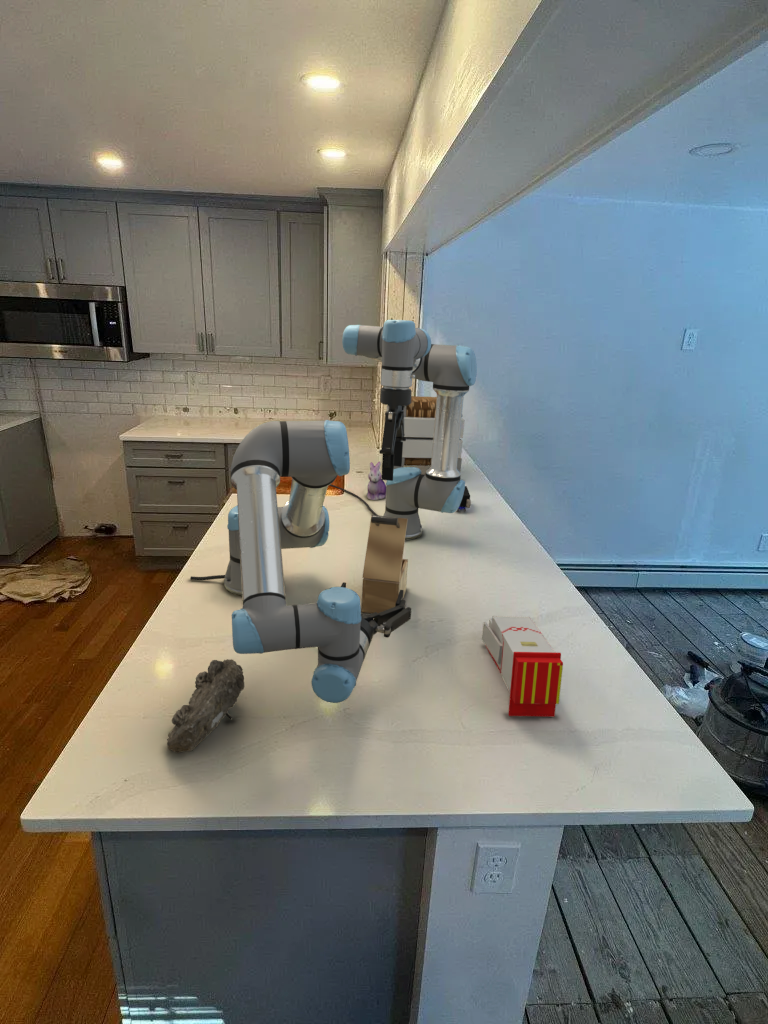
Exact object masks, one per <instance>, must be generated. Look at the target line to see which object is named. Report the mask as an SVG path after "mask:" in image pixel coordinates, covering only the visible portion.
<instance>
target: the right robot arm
mask: <svg viewBox="0 0 768 1024" xmlns="http://www.w3.org/2000/svg"><path fill="white" fill-rule="evenodd" d="M341 339H342V340H341V343H342V347H343V348H342V349H343V351H344V352H345V353H346V354H347V355H352V356H355V357H357V356H360V357H366V358H368V359H371V360H374V361H377V362H378V363H379V362H380V363H381V369H380V386H381V388H380V395H379V397H380V398H379V401H380V404H381V405H385V406H387V405H388V406H389V409H388V411H387V410H386V411H385V412H384V426H383V434H382V442H381V449H379V450H378V451H379V454H380V455H382V459H381V475H382V477H381V479H382V480H383V481H386V482H385V484H386V496H385V504H384V505H385V507H384V508H385V509H384V513H383V515H382V516H389V517H398V518H405V519H408V520H407V528H406V536H405V541H410V540H415V539H418V538H420V537H421V536H422V535H423V525H422V524H421V518H420V515H419V509H420V510H421V509H422V510H427V511H433V512H438V513H442V514H443V513H446V514H454V513H456V512H457V509H458V507H459V505H460V503H461V501H462V498H463V494H464V490H465V486H466V481H465V480H463V479H461V475H462V474H461V473H460V472H459V471H458V470H457V459H458V449H459V439H461V438H460V429H461V418H462V419H463V408H464V398H465V397H464V396H465V395H467V393H469V392H470V387H471V386H474V385H475V384H476V380H477V375H478V374H477V373H478V367H477V366H478V365H477V364H478V363H477V357H476V353H475V351H474V350H473V348H472V347H470V346H464V345H459V344H458V345H455V344H454V345H452V344H438V343H437V344H436V343H435V344H434V343H432V338H431V336H430V334H429V332H428V331H426V329H423V328H420V327H416V323H415V321H413V320H409V319H408V320H407V319H406V320H405V319H387V320H384V323H383V326H378V325H377V326H376V325H363V324H349V325H347V326H346V327H345V328H344V330H343V333H342V338H341ZM413 379H414V380H417V381H420V382H429V383H432V390H433V391H434V393H435V394H436V397H437V399H436V411H435V423H434V435H433V447H432V459H431V465H430V466H429V468H427V469H426V470H425V474H424V473H423V474H422V469H421V468H419V467H416V466H404V467H403V468H397V469H394V466H400V467H401V466H402V452H403V442H401V441H406V437H404V436H405V434H404V406H407V405H410V404H411V396H412V392H413V391H412V389H411V387H412V385H413ZM329 486H330V487H332V488H335V489H338V490H340V491H343V492H345V493H347V494H350V495H351V496H354V497H355V498H357V499H358V500H360V501H361V502H362V503H363V504H364V505H365V506H366V507H367V509H368V510H369V511H370V513H372V515H378V514H377V513H376V512H375V511H374V510H373V509H372V508H371V507H370V505H369V504H368V503H367V502H366V501H365V500H364V499H363V498H362V497H360V496H359V495H357V494H356V493H354V492H352V491H350V490H347V489H344V488H342V487H340V486H337V485H334V484H332V483H331V484H330V485H329ZM329 486H328V487H329Z"/></svg>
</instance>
